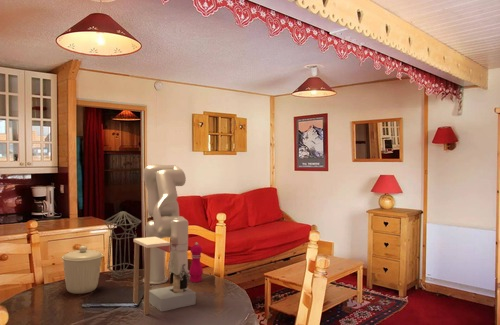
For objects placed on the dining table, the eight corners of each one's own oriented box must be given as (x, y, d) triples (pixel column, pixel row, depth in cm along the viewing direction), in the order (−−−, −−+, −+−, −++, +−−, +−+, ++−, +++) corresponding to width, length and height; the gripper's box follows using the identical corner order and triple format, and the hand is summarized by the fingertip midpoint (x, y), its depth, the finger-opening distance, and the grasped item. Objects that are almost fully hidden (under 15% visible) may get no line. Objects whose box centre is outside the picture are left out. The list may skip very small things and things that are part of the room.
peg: (171, 301, 174) (171, 274, 175) (180, 299, 177) (180, 272, 177) (175, 304, 171) (176, 276, 171) (184, 302, 174) (185, 274, 174)
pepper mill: (200, 283, 202) (200, 243, 202) (186, 281, 204) (187, 243, 204) (204, 279, 209) (205, 241, 209) (191, 277, 211) (192, 240, 211)
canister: (60, 298, 174) (61, 251, 174) (61, 287, 191) (62, 243, 191) (103, 294, 181) (104, 248, 182) (101, 283, 198) (102, 241, 198)
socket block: (147, 301, 173) (148, 290, 173) (180, 295, 183) (181, 284, 183) (161, 311, 162) (161, 299, 162) (195, 304, 171) (195, 292, 171)
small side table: (131, 304, 169) (133, 238, 169) (153, 300, 175) (155, 236, 175) (145, 315, 157) (146, 244, 157) (168, 310, 163) (170, 242, 163)
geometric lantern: (143, 276, 211) (143, 211, 211) (115, 283, 200) (116, 214, 199) (127, 270, 222) (128, 208, 221) (101, 276, 211) (101, 211, 210)
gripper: (163, 244, 179) (162, 282, 179) (180, 251, 165) (179, 292, 165) (178, 242, 183) (177, 279, 183) (196, 249, 169) (195, 289, 169)
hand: (178, 285), depth 174 cm, fingers open, 9 cm apart
